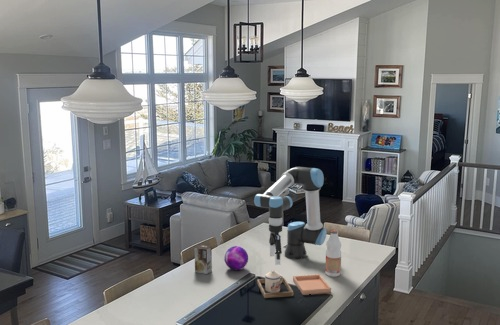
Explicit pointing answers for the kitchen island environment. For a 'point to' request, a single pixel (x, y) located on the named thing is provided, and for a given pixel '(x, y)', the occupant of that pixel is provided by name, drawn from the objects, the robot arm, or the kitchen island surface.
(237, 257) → the decorative orb
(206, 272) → the coffee box
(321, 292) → the terracotta dish
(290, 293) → the walnut corral
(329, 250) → the fruit juice
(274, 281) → the teacup with lid
